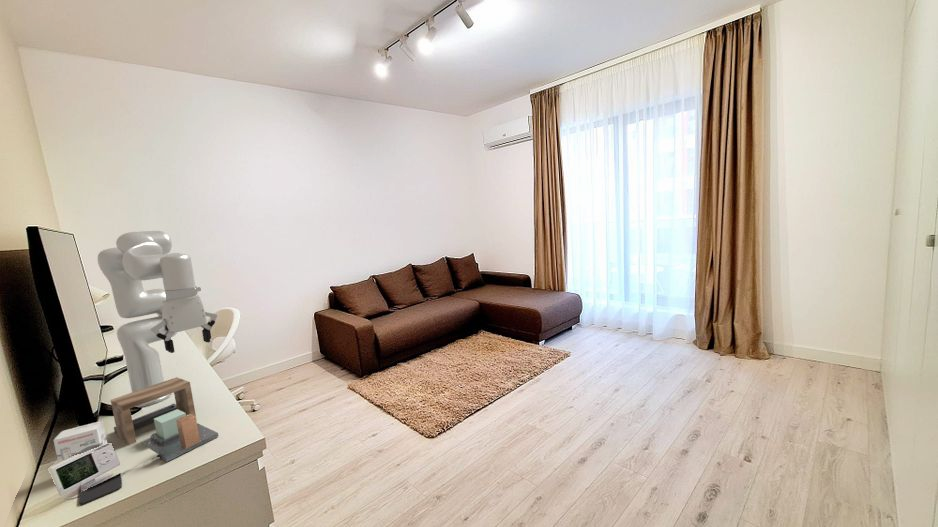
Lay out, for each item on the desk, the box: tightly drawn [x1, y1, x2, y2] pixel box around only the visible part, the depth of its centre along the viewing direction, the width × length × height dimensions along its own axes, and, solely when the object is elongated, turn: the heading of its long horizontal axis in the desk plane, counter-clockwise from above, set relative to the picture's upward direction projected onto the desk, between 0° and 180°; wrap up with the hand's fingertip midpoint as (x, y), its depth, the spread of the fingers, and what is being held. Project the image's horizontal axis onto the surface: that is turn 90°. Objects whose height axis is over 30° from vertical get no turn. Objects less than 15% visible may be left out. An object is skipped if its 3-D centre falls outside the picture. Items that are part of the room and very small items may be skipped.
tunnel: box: [110, 377, 197, 446], centre depth 116 cm, size 10×17×14 cm, turn 149°
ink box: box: [53, 421, 108, 463], centre depth 98 cm, size 9×5×12 cm, turn 122°
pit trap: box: [113, 403, 177, 435], centre depth 121 cm, size 4×16×3 cm, turn 149°
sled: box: [140, 414, 219, 463], centre depth 108 cm, size 18×13×9 cm
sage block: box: [153, 409, 186, 439], centre depth 111 cm, size 6×6×6 cm
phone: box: [78, 472, 123, 506], centre depth 92 cm, size 7×1×15 cm
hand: (189, 346), depth 114 cm, fingers open, 9 cm apart
